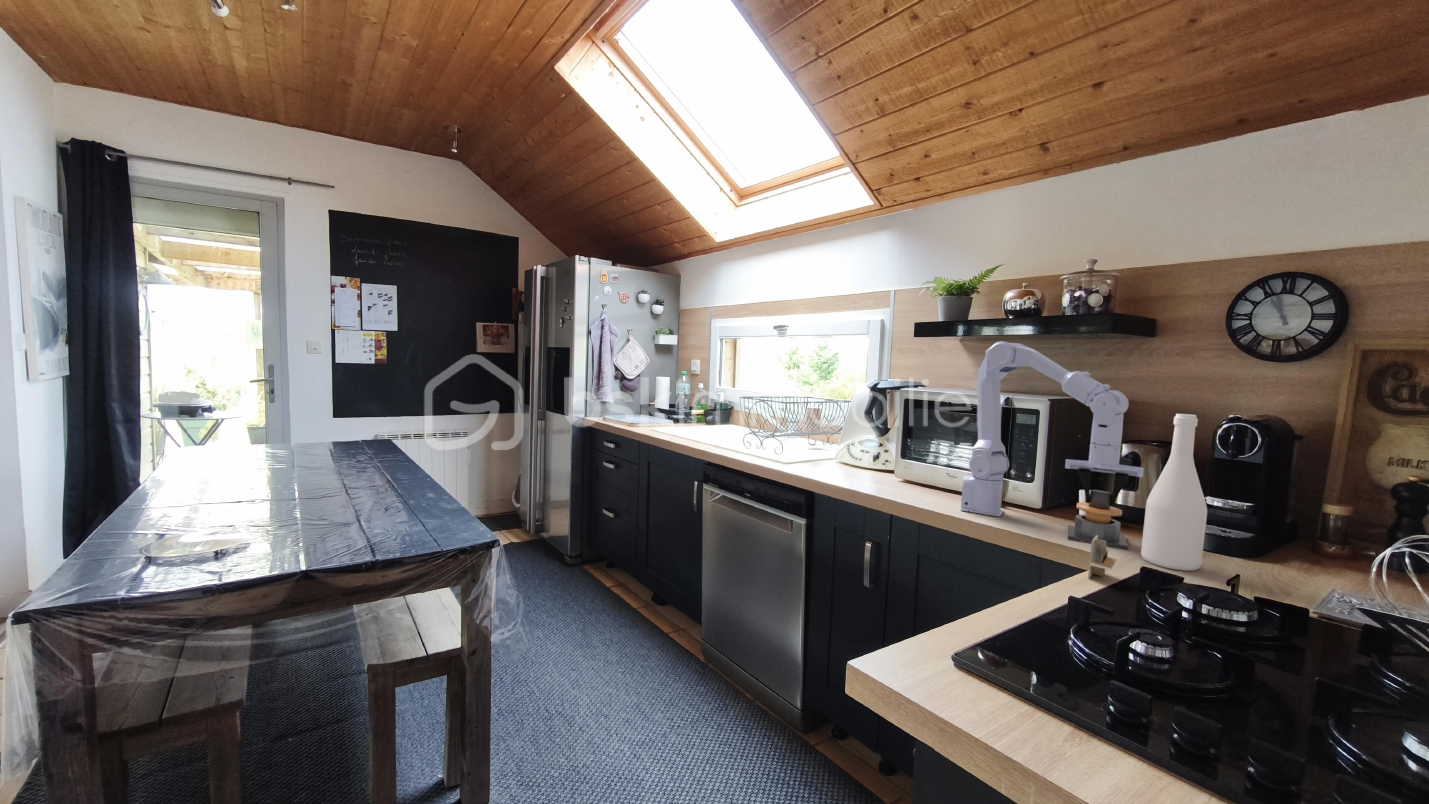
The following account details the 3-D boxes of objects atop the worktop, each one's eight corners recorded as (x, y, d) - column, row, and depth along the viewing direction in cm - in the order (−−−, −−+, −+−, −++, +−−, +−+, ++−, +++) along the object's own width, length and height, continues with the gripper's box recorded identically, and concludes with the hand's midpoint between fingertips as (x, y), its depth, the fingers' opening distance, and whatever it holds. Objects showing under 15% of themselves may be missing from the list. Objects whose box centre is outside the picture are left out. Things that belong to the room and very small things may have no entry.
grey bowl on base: (1067, 539, 130) (1069, 520, 130) (1067, 528, 140) (1069, 510, 139) (1127, 549, 125) (1129, 529, 124) (1123, 537, 134) (1125, 519, 134)
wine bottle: (1173, 572, 111) (1190, 416, 109) (1128, 555, 120) (1143, 411, 118) (1213, 571, 113) (1231, 417, 111) (1166, 555, 122) (1182, 412, 120)
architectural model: (1114, 578, 108) (1118, 539, 107) (1109, 588, 103) (1113, 547, 102) (1092, 573, 110) (1096, 534, 109) (1086, 583, 105) (1090, 542, 104)
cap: (1075, 521, 130) (1079, 491, 130) (1074, 513, 138) (1078, 485, 137) (1122, 529, 126) (1126, 499, 126) (1118, 521, 134) (1122, 492, 133)
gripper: (1067, 442, 131) (1062, 501, 132) (1147, 450, 124) (1141, 513, 125) (1067, 439, 137) (1062, 496, 138) (1143, 446, 130) (1137, 506, 131)
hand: (1099, 504), depth 132 cm, fingers closed on cap, 4 cm apart
